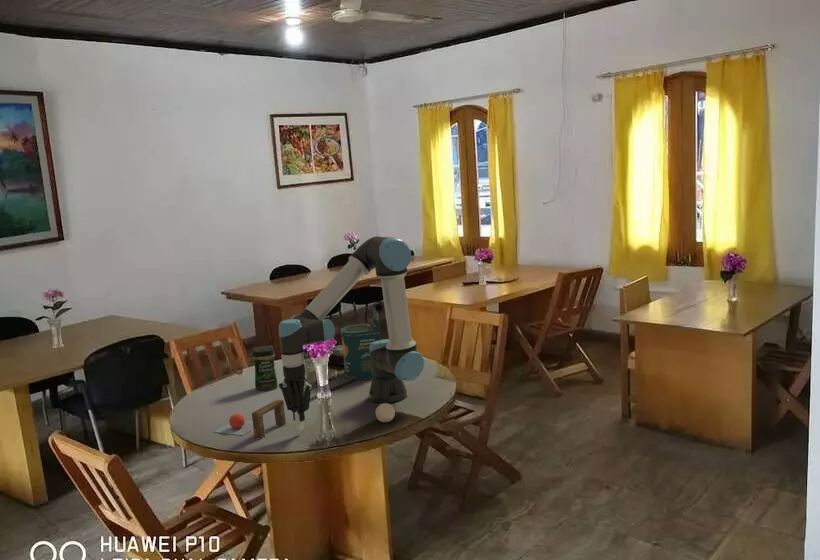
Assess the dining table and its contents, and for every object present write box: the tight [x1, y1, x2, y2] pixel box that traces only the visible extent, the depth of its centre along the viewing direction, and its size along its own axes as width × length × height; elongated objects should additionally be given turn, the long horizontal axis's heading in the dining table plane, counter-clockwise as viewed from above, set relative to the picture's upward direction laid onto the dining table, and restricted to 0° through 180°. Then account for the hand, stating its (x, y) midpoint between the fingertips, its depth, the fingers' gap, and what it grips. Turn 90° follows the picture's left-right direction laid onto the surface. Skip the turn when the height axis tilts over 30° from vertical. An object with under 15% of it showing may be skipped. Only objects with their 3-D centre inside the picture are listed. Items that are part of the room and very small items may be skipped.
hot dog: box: [328, 345, 344, 366], centre depth 331 cm, size 18×11×8 cm, turn 49°
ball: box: [228, 413, 246, 429], centre depth 255 cm, size 6×6×6 cm
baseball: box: [375, 402, 396, 423], centre depth 251 cm, size 7×7×7 cm
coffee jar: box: [251, 345, 279, 391], centre depth 301 cm, size 10×8×19 cm
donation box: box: [340, 307, 381, 381], centre depth 311 cm, size 16×16×28 cm
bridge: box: [251, 399, 287, 440], centre depth 250 cm, size 3×14×9 cm, turn 154°
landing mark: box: [213, 419, 253, 436], centre depth 257 cm, size 13×13×1 cm
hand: (300, 429), depth 245 cm, fingers closed
